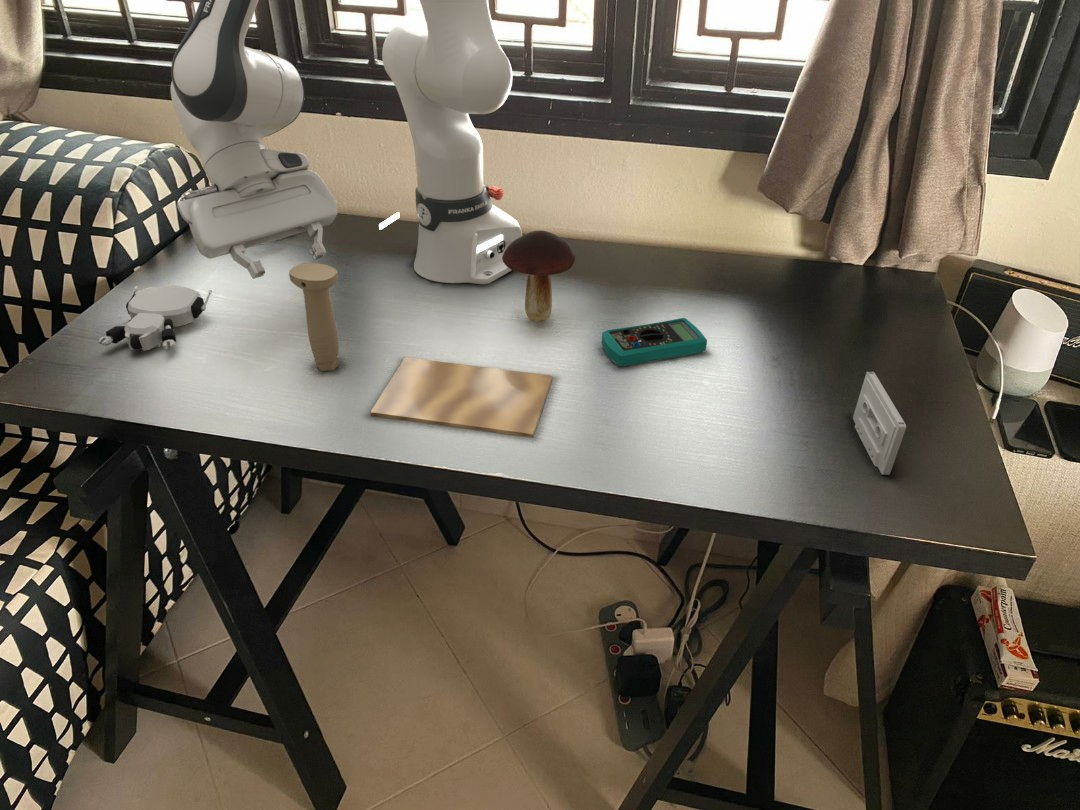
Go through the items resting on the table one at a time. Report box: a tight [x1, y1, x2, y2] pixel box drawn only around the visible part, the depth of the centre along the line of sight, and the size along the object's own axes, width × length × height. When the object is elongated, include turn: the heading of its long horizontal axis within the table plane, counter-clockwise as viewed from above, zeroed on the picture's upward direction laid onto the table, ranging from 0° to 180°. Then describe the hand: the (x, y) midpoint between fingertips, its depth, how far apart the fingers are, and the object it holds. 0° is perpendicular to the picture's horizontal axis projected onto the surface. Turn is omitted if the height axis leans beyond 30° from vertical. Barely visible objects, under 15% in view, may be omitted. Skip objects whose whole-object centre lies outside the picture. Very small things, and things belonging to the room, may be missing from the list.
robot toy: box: [98, 285, 213, 352], centre depth 124 cm, size 12×4×15 cm
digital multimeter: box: [601, 317, 708, 368], centre depth 122 cm, size 7×15×3 cm, turn 108°
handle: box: [288, 262, 340, 372], centre depth 113 cm, size 5×6×15 cm
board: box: [369, 357, 554, 438], centre depth 112 cm, size 22×14×1 cm, turn 79°
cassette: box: [852, 371, 907, 476], centre depth 103 cm, size 12×2×8 cm, turn 0°
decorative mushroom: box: [502, 230, 576, 323], centre depth 126 cm, size 11×11×15 cm
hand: (290, 266), depth 113 cm, fingers open, 8 cm apart
